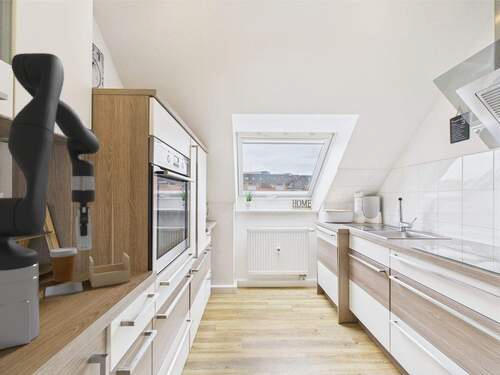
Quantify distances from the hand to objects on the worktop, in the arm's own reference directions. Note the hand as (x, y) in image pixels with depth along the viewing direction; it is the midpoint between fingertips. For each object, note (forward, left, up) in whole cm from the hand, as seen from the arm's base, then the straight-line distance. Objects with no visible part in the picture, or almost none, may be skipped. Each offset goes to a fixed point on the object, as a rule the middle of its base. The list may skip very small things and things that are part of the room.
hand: (83, 234), depth 110 cm
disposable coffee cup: (+14, +6, -19) cm, 24 cm away
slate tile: (-1, +6, -19) cm, 20 cm away
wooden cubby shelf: (+3, -9, -19) cm, 21 cm away
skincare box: (0, 0, -5) cm, 5 cm away
